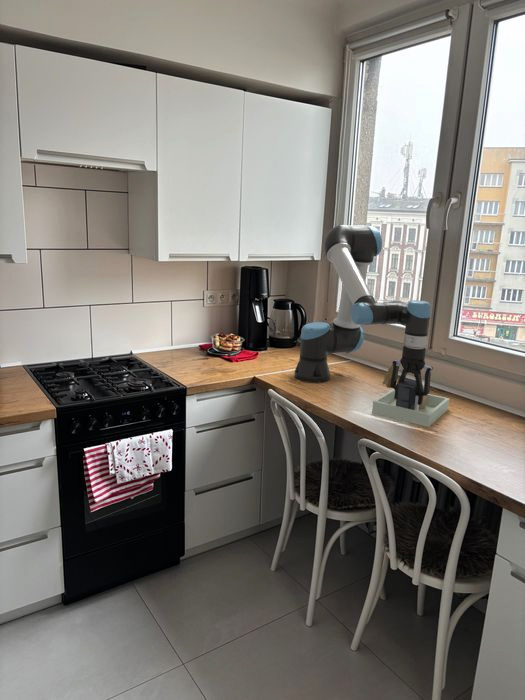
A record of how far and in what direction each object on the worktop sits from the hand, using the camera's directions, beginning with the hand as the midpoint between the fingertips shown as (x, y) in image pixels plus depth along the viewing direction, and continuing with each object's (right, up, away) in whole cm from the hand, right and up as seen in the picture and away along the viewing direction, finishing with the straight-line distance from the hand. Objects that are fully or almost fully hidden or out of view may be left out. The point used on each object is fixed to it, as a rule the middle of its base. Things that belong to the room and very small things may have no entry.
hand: (406, 410), depth 187 cm
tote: (+2, -1, +4) cm, 5 cm away
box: (0, -1, 0) cm, 1 cm away
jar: (+6, +1, +9) cm, 11 cm away
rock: (+2, +6, +35) cm, 36 cm away
